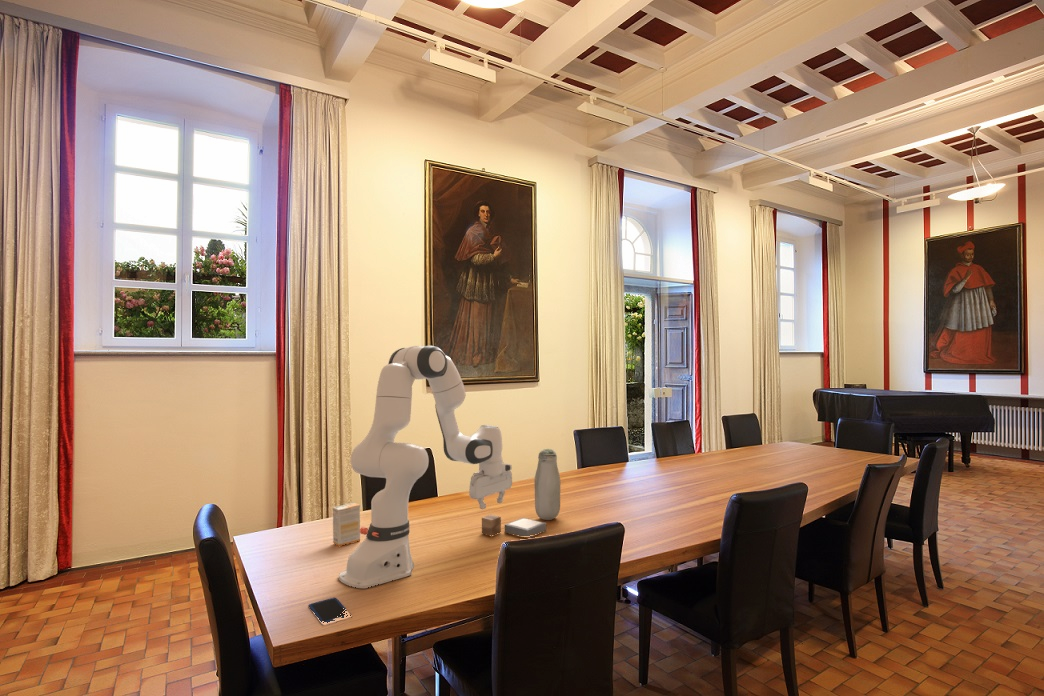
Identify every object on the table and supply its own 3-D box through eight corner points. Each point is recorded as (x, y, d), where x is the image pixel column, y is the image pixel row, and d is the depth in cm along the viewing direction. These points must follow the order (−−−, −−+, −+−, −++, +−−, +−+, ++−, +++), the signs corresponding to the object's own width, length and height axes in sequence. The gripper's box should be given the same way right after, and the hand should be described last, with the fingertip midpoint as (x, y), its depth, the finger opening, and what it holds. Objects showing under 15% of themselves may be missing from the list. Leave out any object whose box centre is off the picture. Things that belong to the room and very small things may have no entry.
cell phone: (323, 627, 130) (323, 624, 130) (307, 606, 141) (307, 604, 141) (352, 618, 134) (352, 615, 135) (335, 599, 146) (335, 596, 146)
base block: (527, 538, 192) (527, 529, 192) (504, 532, 199) (504, 524, 199) (546, 531, 200) (546, 522, 200) (523, 525, 207) (523, 517, 207)
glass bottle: (547, 524, 208) (547, 452, 209) (530, 518, 216) (529, 449, 217) (565, 519, 215) (564, 449, 215) (547, 513, 222) (547, 446, 223)
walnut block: (491, 536, 195) (491, 520, 195) (481, 533, 198) (481, 517, 198) (500, 533, 199) (500, 516, 199) (491, 530, 202) (490, 514, 202)
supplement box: (354, 538, 195) (354, 502, 195) (360, 541, 191) (360, 504, 191) (332, 544, 189) (332, 506, 189) (338, 547, 185) (338, 509, 186)
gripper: (477, 475, 189) (478, 514, 189) (514, 464, 205) (515, 500, 205) (464, 472, 193) (465, 510, 193) (502, 462, 209) (502, 498, 209)
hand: (491, 505), depth 199 cm, fingers open, 8 cm apart
